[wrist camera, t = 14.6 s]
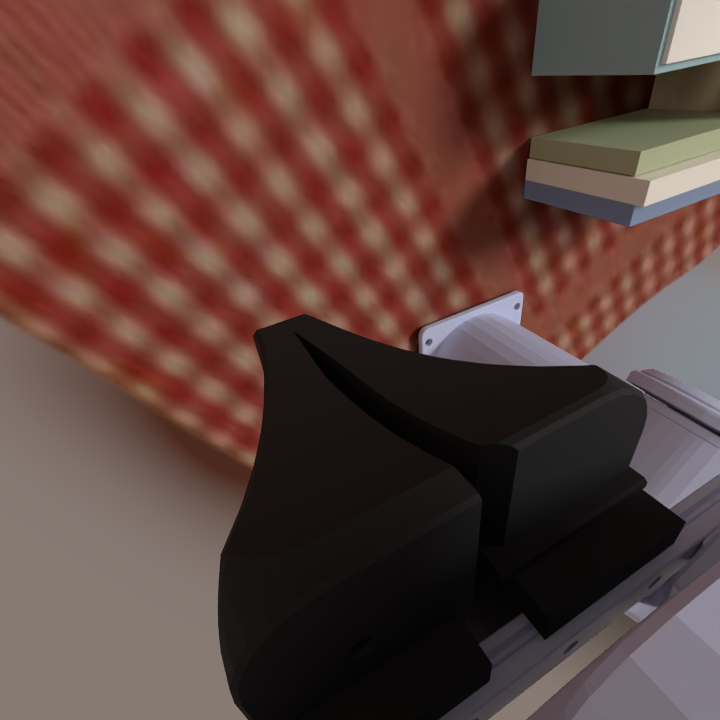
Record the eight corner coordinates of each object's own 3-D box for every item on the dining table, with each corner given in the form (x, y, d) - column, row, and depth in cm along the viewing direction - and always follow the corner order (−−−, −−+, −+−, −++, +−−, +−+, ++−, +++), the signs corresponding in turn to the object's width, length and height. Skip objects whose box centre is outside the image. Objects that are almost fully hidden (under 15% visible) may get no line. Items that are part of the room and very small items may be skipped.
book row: (633, 164, 28) (757, 183, 23) (523, 197, 25) (637, 229, 20) (646, 108, 26) (785, 115, 21) (529, 137, 23) (657, 154, 18)
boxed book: (639, 54, 24) (778, 48, 19) (530, 75, 21) (658, 74, 17) (663, -54, 21) (830, -93, 17) (542, -45, 19) (698, -88, 14)
